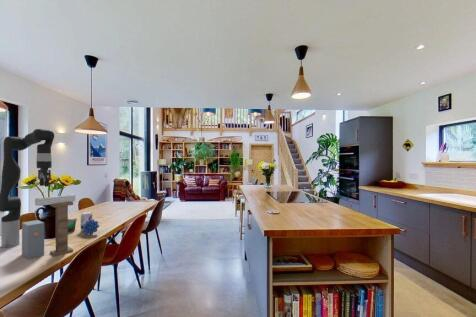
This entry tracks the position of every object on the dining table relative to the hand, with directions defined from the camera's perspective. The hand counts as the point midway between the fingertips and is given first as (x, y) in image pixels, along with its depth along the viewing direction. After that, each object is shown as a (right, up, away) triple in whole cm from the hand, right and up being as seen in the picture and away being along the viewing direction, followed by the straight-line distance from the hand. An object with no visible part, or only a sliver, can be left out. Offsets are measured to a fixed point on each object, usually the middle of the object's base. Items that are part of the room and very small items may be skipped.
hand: (44, 186), depth 156 cm
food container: (-18, -43, +47) cm, 66 cm away
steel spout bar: (+9, -11, -1) cm, 14 cm away
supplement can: (-2, -43, +48) cm, 64 cm away
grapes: (+7, -43, +38) cm, 58 cm away
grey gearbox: (-5, -43, -3) cm, 43 cm away
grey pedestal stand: (+10, -43, +1) cm, 44 cm away
